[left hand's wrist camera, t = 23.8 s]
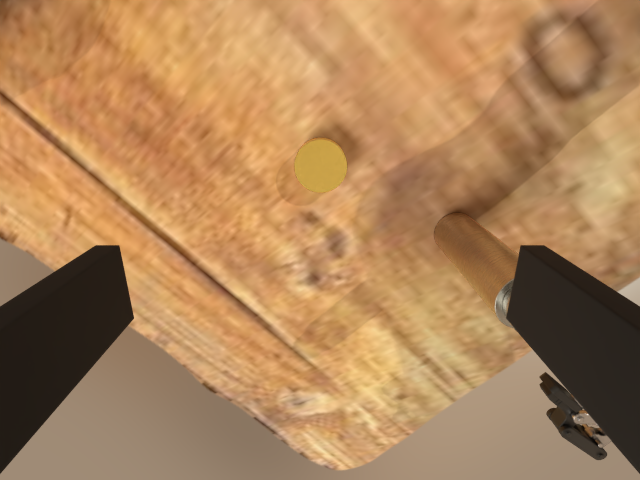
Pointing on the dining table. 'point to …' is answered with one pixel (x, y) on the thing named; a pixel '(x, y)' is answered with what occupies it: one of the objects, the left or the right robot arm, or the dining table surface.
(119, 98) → the dining table surface
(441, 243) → the tan cylinder
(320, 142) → the lid
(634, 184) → the dining table surface
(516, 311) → the left robot arm
